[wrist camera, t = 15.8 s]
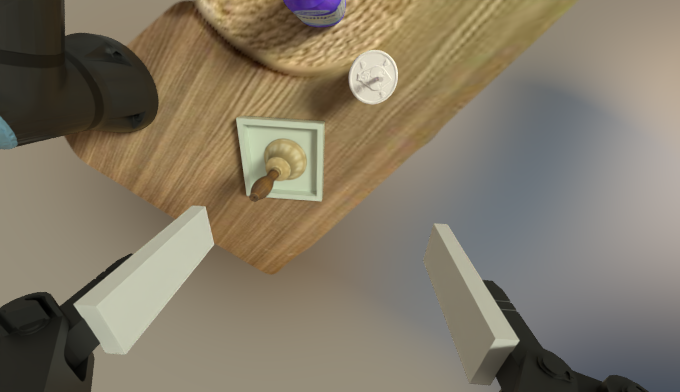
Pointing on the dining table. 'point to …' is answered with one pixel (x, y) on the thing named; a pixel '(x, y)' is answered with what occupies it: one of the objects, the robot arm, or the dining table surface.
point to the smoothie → (373, 77)
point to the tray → (303, 132)
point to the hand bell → (279, 166)
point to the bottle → (318, 11)
